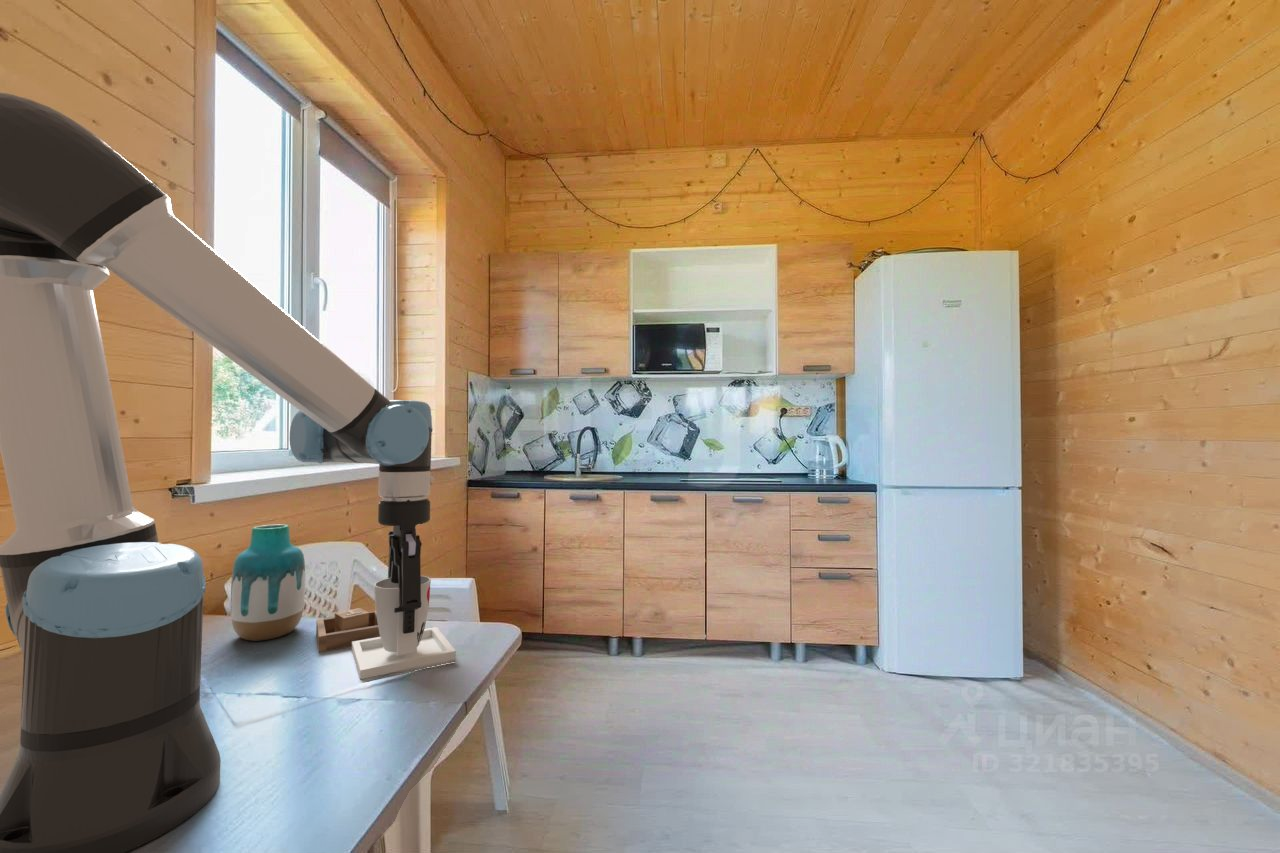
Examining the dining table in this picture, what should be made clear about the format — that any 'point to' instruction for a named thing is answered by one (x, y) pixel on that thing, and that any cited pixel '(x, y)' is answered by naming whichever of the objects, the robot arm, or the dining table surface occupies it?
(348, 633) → the brown wooden tray
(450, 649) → the tray
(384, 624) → the cup
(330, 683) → the dining table surface
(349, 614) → the letter cube
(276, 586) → the vase
